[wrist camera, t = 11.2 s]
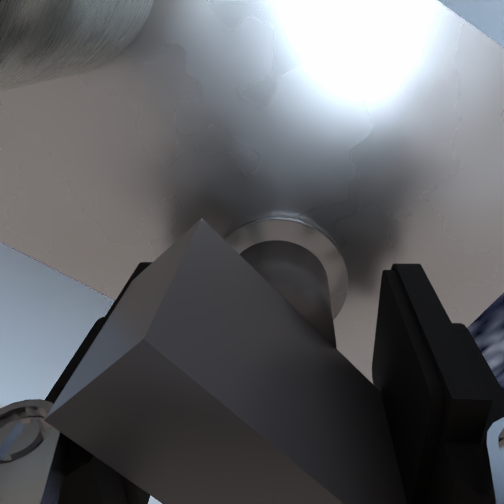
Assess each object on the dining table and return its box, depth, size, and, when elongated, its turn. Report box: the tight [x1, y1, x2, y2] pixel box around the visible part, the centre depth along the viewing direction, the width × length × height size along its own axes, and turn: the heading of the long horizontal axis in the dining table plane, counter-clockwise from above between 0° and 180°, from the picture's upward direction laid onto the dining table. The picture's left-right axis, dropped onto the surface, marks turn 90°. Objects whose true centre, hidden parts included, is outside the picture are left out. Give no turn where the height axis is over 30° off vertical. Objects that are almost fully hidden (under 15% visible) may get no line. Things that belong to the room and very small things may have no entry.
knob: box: [44, 218, 407, 504], centre depth 9 cm, size 6×3×6 cm, turn 44°
